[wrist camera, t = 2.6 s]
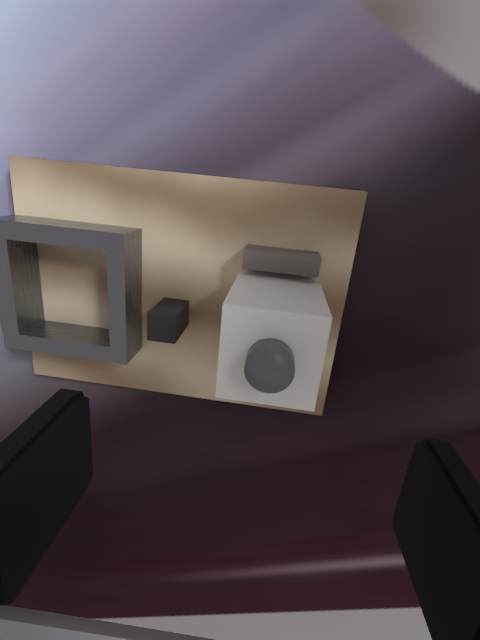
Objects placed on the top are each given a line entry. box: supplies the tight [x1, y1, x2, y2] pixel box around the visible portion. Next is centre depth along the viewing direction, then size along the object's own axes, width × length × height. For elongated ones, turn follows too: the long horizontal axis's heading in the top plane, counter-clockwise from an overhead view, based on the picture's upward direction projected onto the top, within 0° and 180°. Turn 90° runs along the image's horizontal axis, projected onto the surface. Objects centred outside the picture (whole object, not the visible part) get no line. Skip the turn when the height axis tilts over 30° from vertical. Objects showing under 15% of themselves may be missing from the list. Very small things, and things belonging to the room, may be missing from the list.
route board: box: [8, 156, 368, 416], centre depth 22 cm, size 14×20×4 cm
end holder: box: [0, 215, 142, 365], centre depth 22 cm, size 8×8×2 cm
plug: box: [215, 268, 332, 412], centre depth 18 cm, size 4×4×8 cm
